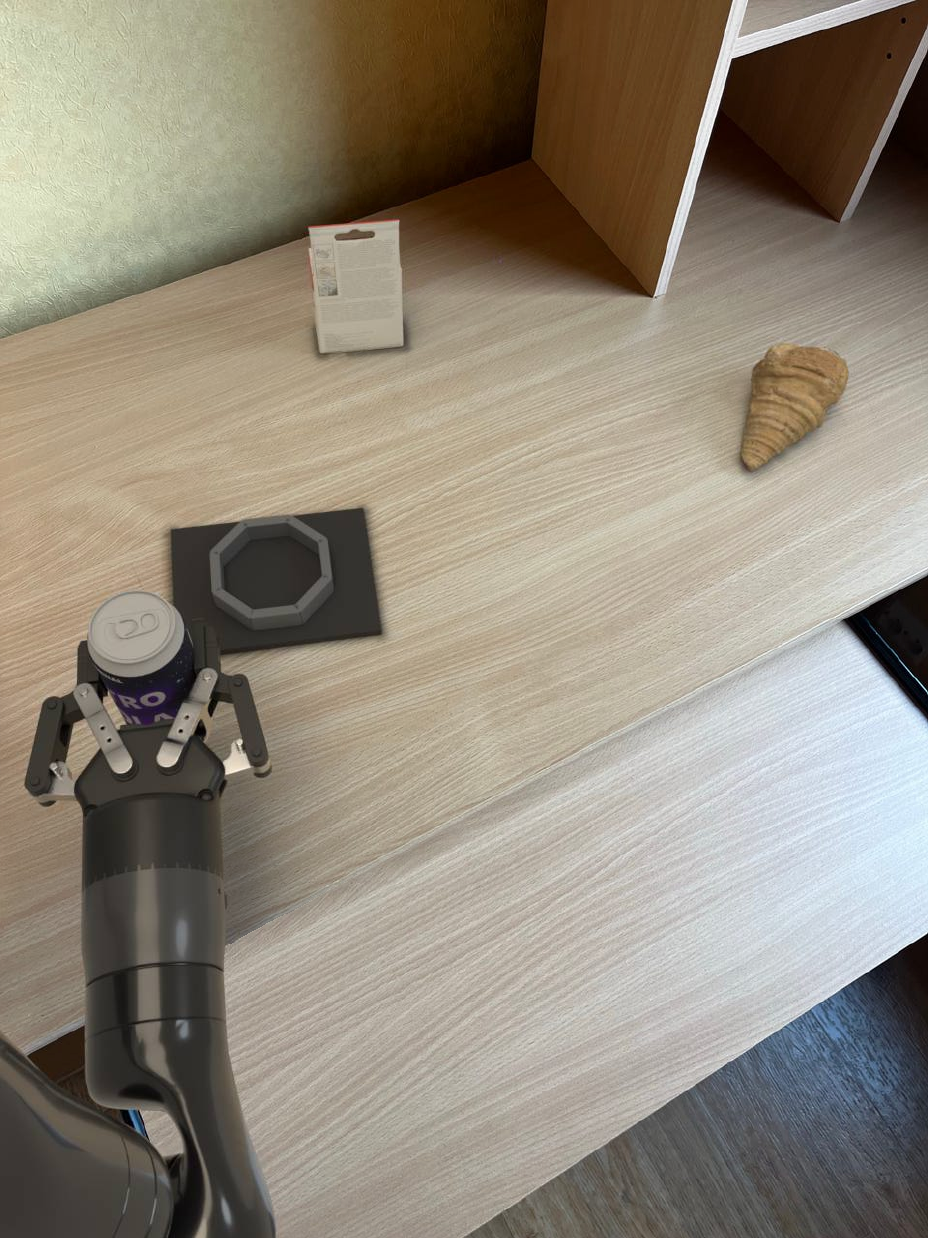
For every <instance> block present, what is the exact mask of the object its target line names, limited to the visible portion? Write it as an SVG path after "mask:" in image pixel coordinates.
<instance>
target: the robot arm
mask: <svg viewBox="0 0 928 1238" xmlns="http://www.w3.org/2000/svg"><path fill="white" fill-rule="evenodd" d="M192 633H193V648H194V670H195V673H196V676H197V678H196V680H195V682H194V684H193V687H192V689H191V691H190V694H189V696H188V698H187V699H184V701H183V702H182V704H181V707H180V709H179V711H178V713H177V716H176V718H175V719H174V718H173V719H165V720H160V721H157V722H154V723H151V724H149V725H143V724H134V723H133V724H126V723H125V724H120V726H119V729H117V727H116V725H115V723H114V722H113V720H112V718H111V716H110V714H109V712H108V710H107V709H106V707H105V705H104V698H107V697H109V691H108V689H107V688H106V686H105V684H104V682H103V680H102V678H101V677H100V675H99V673H98V671H97V669H96V668H95V666H94V664H93V662H92V660H91V658H90V656H89V654H88V650H87V639H86V640H80V642H79V644H78V647H77V648H76V649H77V651H76V652H77V653H76V656H77V658H76V685H75V687H74V689H73V690H72V691H70V692H69V693H67V694H65V695H63V696H60V697H59V696H57V695H53V696H49V697H46V698H45V700H43V702H42V703H41V708H40V713H39V717H38V721H37V725H36V730H35V733H34V739H33V743H32V748H31V752H30V755H29V756H30V757H29V759H28V760H29V761H28V765H27V768H26V774H25V778H24V782H23V784H24V785H23V786H24V788H25V789H26V791H27V792H28V793H29V795H30V796H31V797H32V798H33V800H34V801H35V802H37V803H38V804H39V806H41V807H44V808H48V807H51V806H53V805H54V804H56V803H57V802H58V801H60V802H62V801H63V802H78V804H79V806H80V808H81V811H82V812H81V813H82V831H81V834H82V835H81V837H82V838H81V839H82V840H81V901H80V902H81V904H80V905H81V909H80V943H81V944H80V949H81V956H82V957H81V958H82V963H83V971H84V982H85V983H84V986H85V990H84V1078H85V1079H84V1080H85V1086H86V1087H85V1088H86V1090H87V1093H88V1095H89V1097H90V1098H91V1099H92V1101H93V1102H94V1103H96V1104H97V1105H100V1106H102V1107H104V1108H109V1109H112V1110H122V1111H123V1110H125V1111H149V1112H150V1111H155V1112H163V1113H166V1115H168V1116H169V1118H170V1119H171V1120H172V1122H173V1123H174V1125H175V1127H176V1130H177V1131H178V1134H179V1135H180V1138H181V1142H182V1152H181V1153H180V1152H179V1153H174V1154H169V1155H164V1156H163V1155H162V1154H161V1152H160V1151H159V1149H158V1148H157V1147H156V1146H155V1145H154V1144H153V1143H152V1142H151V1141H150V1140H149V1139H148V1138H147V1137H146V1136H145V1135H143V1134H142V1133H141V1132H140V1131H138V1130H136V1129H135V1128H134V1127H132V1126H130V1125H129V1124H127V1123H125V1122H124V1121H121V1120H119V1119H117V1118H116V1117H114V1116H112V1115H110V1114H108V1113H106V1112H104V1111H102V1110H101V1109H99V1108H97V1107H96V1106H94V1105H91V1104H90V1103H88V1102H86V1101H85V1100H82V1099H80V1098H78V1097H77V1096H75V1095H74V1094H72V1093H70V1092H69V1091H67V1090H66V1089H65V1088H62V1087H61V1086H60V1085H59V1084H57V1083H56V1082H55V1081H54V1080H53V1079H51V1078H50V1077H49V1076H48V1075H47V1074H46V1073H45V1072H44V1071H43V1070H42V1069H40V1068H39V1067H38V1066H37V1065H36V1064H35V1063H34V1062H33V1061H32V1059H30V1058H29V1057H28V1056H27V1055H26V1054H25V1053H24V1052H23V1051H22V1050H21V1049H20V1048H19V1047H18V1046H17V1045H16V1044H15V1042H13V1041H12V1040H11V1039H10V1038H9V1037H8V1036H7V1035H6V1034H5V1033H4V1032H3V1031H1V1030H0V1238H277V1224H276V1216H275V1215H276V1214H275V1210H274V1205H273V1201H272V1197H271V1193H270V1190H269V1189H270V1188H269V1186H268V1182H267V1180H266V1177H265V1174H264V1171H263V1168H262V1165H261V1163H260V1160H259V1157H258V1154H257V1151H256V1148H255V1145H254V1143H253V1140H252V1137H251V1134H250V1131H249V1128H248V1123H247V1121H246V1118H245V1115H244V1111H243V1108H242V1104H241V1101H240V1097H239V1093H238V1089H237V1084H236V1081H235V1080H236V1079H235V1076H234V1071H233V1066H232V1062H231V1056H230V1052H229V1051H230V1050H229V1041H228V1040H229V1039H228V1026H227V1012H226V1011H227V1009H226V989H225V988H226V987H225V973H224V972H225V952H226V942H227V909H228V895H227V893H226V891H225V873H224V855H223V853H224V852H223V834H222V817H221V799H222V796H223V793H224V791H225V789H226V788H227V784H228V781H232V780H236V779H239V778H242V777H246V776H249V775H253V776H254V777H255V778H258V779H265V778H267V777H269V776H270V774H271V773H272V771H273V764H272V762H271V757H270V754H269V751H268V747H267V742H266V739H265V736H264V732H263V728H262V725H261V721H260V718H259V713H258V710H257V706H256V703H255V699H254V696H253V693H252V689H251V686H250V682H249V679H248V677H247V676H246V675H245V674H242V673H235V674H233V675H229V674H225V673H223V672H222V660H221V655H220V642H219V639H218V636H217V633H216V631H215V629H214V627H213V626H206V623H205V620H204V618H200V619H192ZM221 703H225V704H229V705H233V709H234V713H235V717H236V721H237V725H238V728H239V731H240V737H237V738H235V739H234V740H233V741H232V742H231V744H230V754H229V755H228V757H227V758H226V759H224V760H222V759H220V757H219V756H218V755H217V754H216V753H215V752H214V751H213V750H212V749H211V747H210V746H208V745H207V742H208V740H209V737H210V735H211V733H212V730H213V727H214V719H215V717H216V715H217V712H218V709H219V708H220V705H221ZM83 720H85V721H86V723H87V725H88V727H89V729H90V730H91V732H92V734H93V736H94V738H95V740H96V742H97V744H98V745H99V749H98V750H96V753H95V754H94V755H93V757H92V758H91V760H90V761H89V762H88V763H87V765H86V766H85V767H84V769H83V770H82V771H81V773H80V774H79V775H78V777H77V778H76V780H75V779H73V773H72V771H71V769H70V768H69V766H68V765H67V758H68V754H69V749H70V743H71V740H72V739H71V738H72V733H73V729H74V725H75V724H76V723H79V722H81V721H83Z"/></svg>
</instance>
